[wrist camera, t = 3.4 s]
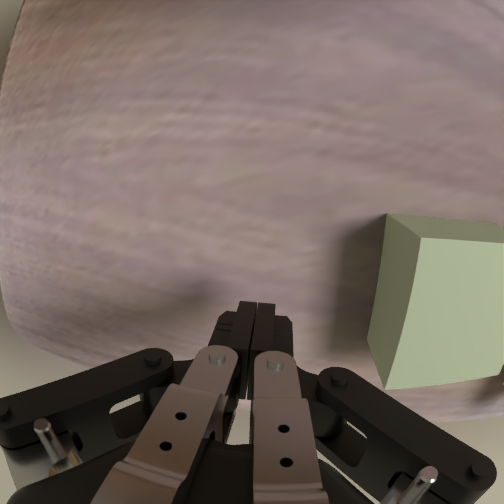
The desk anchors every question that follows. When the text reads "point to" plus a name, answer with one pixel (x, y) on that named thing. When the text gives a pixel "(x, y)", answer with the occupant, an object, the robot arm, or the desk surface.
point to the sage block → (438, 302)
